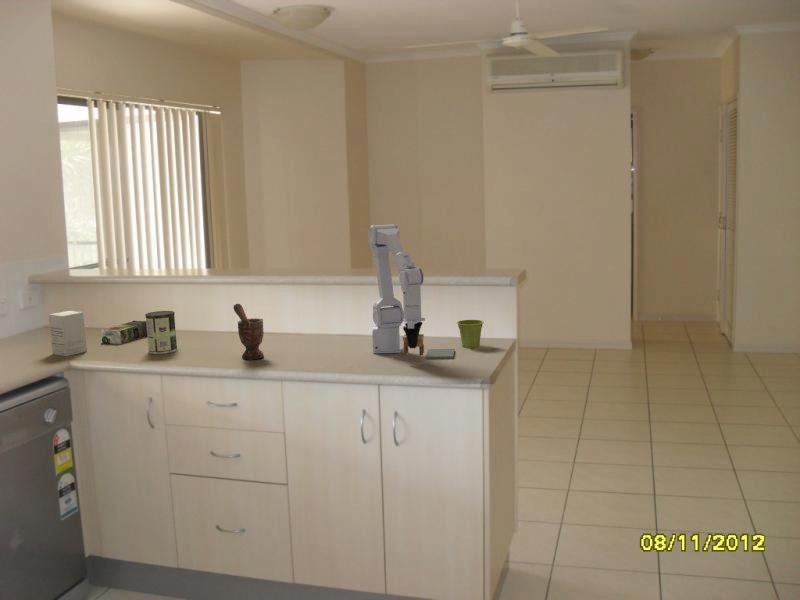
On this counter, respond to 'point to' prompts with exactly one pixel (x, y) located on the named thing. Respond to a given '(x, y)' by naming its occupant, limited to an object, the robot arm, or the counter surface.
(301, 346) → the counter surface
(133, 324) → the juice carton
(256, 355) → the mortar and pestle
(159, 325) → the coffee can
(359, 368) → the counter surface
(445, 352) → the slate mat
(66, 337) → the supplement box
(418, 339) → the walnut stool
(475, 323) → the plant pot
